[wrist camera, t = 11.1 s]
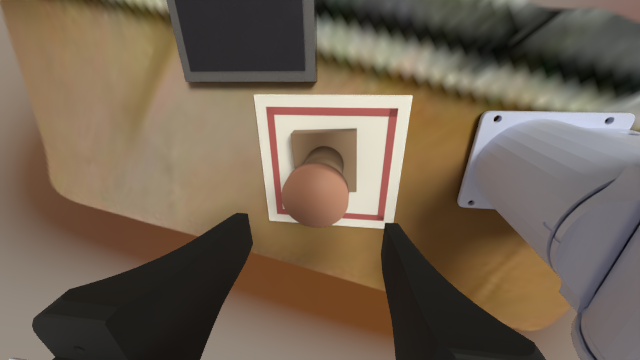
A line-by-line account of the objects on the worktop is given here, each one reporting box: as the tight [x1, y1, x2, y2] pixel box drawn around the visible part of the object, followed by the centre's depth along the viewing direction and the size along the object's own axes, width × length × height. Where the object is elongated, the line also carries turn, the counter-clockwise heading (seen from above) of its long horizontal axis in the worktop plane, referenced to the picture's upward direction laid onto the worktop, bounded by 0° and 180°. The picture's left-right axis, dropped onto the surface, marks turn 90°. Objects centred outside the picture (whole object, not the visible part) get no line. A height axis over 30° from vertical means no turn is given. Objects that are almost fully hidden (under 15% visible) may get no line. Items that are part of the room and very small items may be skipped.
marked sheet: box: [254, 94, 413, 229], centre depth 21 cm, size 12×12×1 cm
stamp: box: [281, 128, 357, 228], centre depth 17 cm, size 5×5×7 cm
